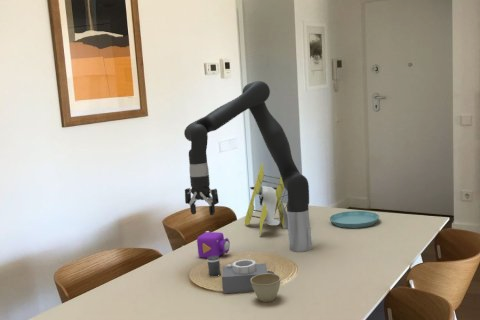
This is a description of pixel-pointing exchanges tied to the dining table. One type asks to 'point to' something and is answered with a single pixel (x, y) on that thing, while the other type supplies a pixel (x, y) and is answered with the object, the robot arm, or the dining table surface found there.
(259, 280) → the flower pot
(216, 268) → the lens
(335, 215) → the saucer
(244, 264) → the camera body
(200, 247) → the toy camera
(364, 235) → the dining table surface
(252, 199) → the biplane
